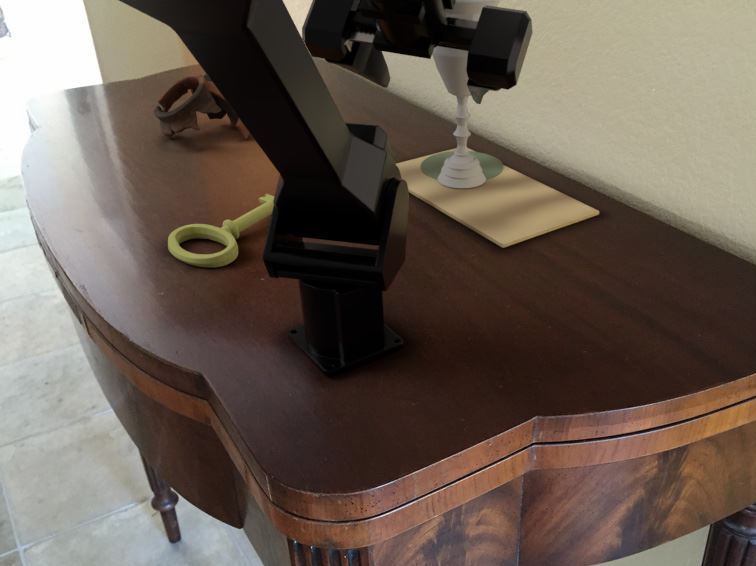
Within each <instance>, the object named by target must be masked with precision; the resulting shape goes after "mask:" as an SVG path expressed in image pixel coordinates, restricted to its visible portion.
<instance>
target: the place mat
mask: <svg viewBox="0 0 756 566" xmlns="http://www.w3.org/2000/svg"><path fill="white" fill-rule="evenodd" d="M456 150H457V147H455V148H451V149H447V150H444V151H443V150H442V151H439V152H435V153H432V154H428V155H424V156H420V157H416V158H413V159H409V160H405V161H401V162H397V163H395V164H396V165H397V167H398V168H399V170H400V174H401V178H402V179H403V180H405V181H406V182H407V185H408V191H409V194H411V195H412V196H414V197H416V198H418V200H419V199H420V200H421V201H423V202H424V203H426V204H428V205H429V206H431V207H433V208H434V209H436V210H438V211H440V212H441V213H443V214H445V215H446V216H448V217H450V218H451V219H453V220H455V221H457V222H458V223H460V224H461V225H463V226H464V227H466V228H468V229H470V230H472V231H473V232H474V233H476V234H478V235H480V236H482V237H484V238H485V239H487V240H489V241H490V242H492V243H494V244H496V245H497V246H498V247H501V248H502V249H503V248H507V247H510V246H514V245H516V244H519V243H521V242H524V241H527V240H531V239H534V238H535V237H539V236H542V235H545V234H548V233H550V232H553V231H555V230H558V229H561V228H565V227H567V226H570V225H573V224H576V223H579V222H582V221H585V220H589V219H590V218H593V217H596V216H599V215H600V210H598V209H596V208H594V207H592V206H590V205H588V204H586V203H583V202H581V201H580V200H577V199H575V198H573V197H571V196H569V195H567V194H565V193H563V192H561V191H558V190H556V189H555V188H552V187H550V186H548V185H546V184H544V183H542V182H541V181H538V180H537V179H534V178H532V177H530V176H527V175H525V174H523V173H521V172H519V171H517V170H515V169H513V168H510V167H509V166H506V165H504V164H503V162H502V161H501V160H500V159H499V158H497V157H496V156H493V155H491V154H488V153H484V152H479V151H475V150H473V149H472V148H470V147H467V150H468V151H469V152H470V154H472V155H474V156H475V157H476V158H477V159H478V160H479V162H480V164H479V165H480V166H481V168H482V170H483V171H482V172H483V174H484V176H485V178H486V180H485V182H484V183H483V184H482V185H479V186H476V187H472V188H452V187H448V186H445V185H443V184H441V183H440V182H439V181H438V176H439V175H440V173H441V169H442V167H443V166H444V161H445V160H446V159H447V158H448V157H449V156H450V155H452V154H454V152H455V151H456Z"/></svg>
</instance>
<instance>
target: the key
mask: <svg viewBox="0 0 756 566" xmlns="http://www.w3.org/2000/svg"><path fill="white" fill-rule="evenodd" d="M274 196H275V195H271V194H269V193H265V195H264V196H260V197H259V198H258V202H259V203H260V205H259V206H256V207H255V208H253V209H252V210H250V211H248V212H246V213H245V214H243V215H241V216H239V217H237V218H236V219H234V220H231V219H225V220H224V221H223V222H222V226H221V227H218V226H216V225H211V224H205V223H191V224H190V223H189V224H186V225H182V226H180V227H178V228H175V229H174V230H173V231H171V232H170V233H169V235H168V238H167V249H168V251H169V253H170V254H171V255H172V256H173V257H174V258H176V259H177V260H179V261H180V262H183V263H184V264H188V265H190V266H194V267H200V268H220V267H224V266H227V265H229V264H231V263H233V262H234V261H236V259H238V256H239V246H238V245H239V244H238V242H237V239H239V238H240V233H241V232H243V231H245V230H246V229H248V228H250V227H252V226H253V225H256V223H258V222H261V221H263V220H264V219H265V218H267V217H269V216H270V215H272V211H273V206H274V203H273V200H274ZM192 239H205V240H206V239H207V240H211V241H214V242H217V243H220V244H222V245H224V246H225V248H224V249H223V250H220V251H218V252H215V253H206V254H201V253H195V252H190V251H188V250H186V249H184V248H182V247H181V246H180V244H182V243H183V242H186V241H188V240H192Z"/></svg>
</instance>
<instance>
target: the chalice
mask: <svg viewBox="0 0 756 566" xmlns="http://www.w3.org/2000/svg"><path fill="white" fill-rule="evenodd" d="M500 2H501V0H456V2H455V5H454V8H453V10H451V9H447V11H446V16H447V17H452V18H459V19H466V20H472V21H478V20H479V17H480V14H481V11H482V8H483V7H485V6H487V5H488V6H494V7H498V6H499V3H500ZM467 57H468V51H465V50H458V49H452V48H446V47H440V46H437V47H435V48H434V50H433V53H432V59H433V61H434V64H435V67H436V69H437V70H436V71H438V74H439V75H440V78H441V80H442V82H443V84H444V86H445V88H446V90H447V93H449V94H450V95H452V96H455V97H456V103H457V104H456V105H457V106H456V111H455V113H454V114H453V116H454V118H455V120H456V123H457V126H456V129H455V131H453V133H452V135H453V136H454V137H455V139H456V143H457V145H456V148H457V150H456V151H455V152H454V154H452V155H450V156H449V157H448V158H447V159H446V160H445V161H444V166H443V167H442V169H441V173H440V175H439V176H438V181H439V182H440V183H441V184H443V185H445V186H448V187H452V188H472V187H476V186H479V185H482V184H483V183H484V182H485V180H486V178H485V176H484V174H483V172H482V171H483V170H482V168H481V166H480V165H479V164H480V162H479V160H478V159H477V158H476V157H475V156H474V155H472V154H470V152H469V151H468V150H467V148H468V145H467V143H468V139H469V137H470V136H471V135H472V133H471V132H470V130H469V129H468V125H467V124H468V121H469V119H470V117H471V114H470V113H469V108H468V100H469V97H470V96H471V93H470V91H469V89H468V86H467V82H468V79H469V78H468V75H467V71H466V67H467ZM471 97H472V96H471Z"/></svg>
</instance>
